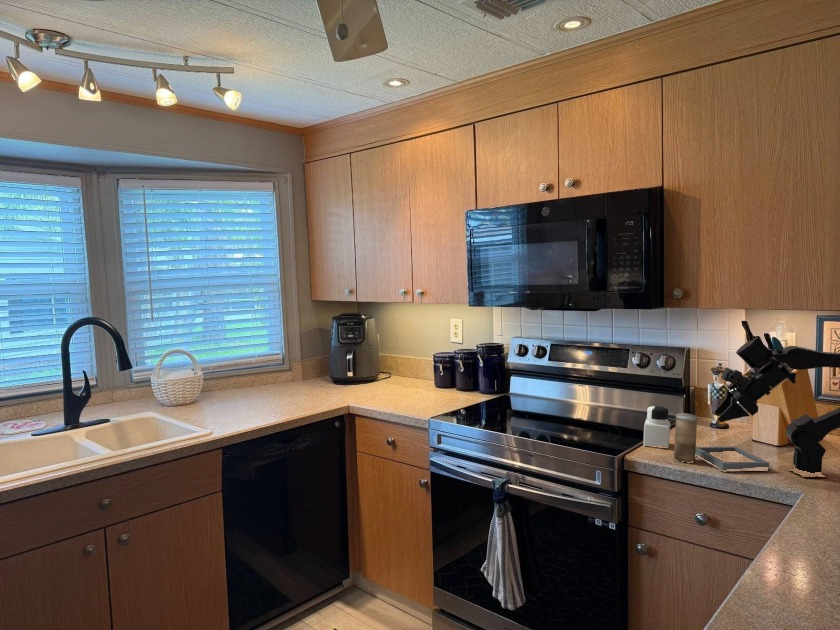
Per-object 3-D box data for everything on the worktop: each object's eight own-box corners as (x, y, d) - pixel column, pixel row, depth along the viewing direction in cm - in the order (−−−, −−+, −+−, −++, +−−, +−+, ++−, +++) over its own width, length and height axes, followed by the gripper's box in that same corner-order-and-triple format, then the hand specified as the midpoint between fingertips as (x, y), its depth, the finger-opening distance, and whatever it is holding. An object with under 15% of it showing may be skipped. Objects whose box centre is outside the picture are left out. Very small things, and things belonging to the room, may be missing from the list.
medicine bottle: (669, 443, 186) (670, 406, 186) (668, 449, 180) (670, 410, 179) (645, 440, 189) (646, 403, 189) (643, 446, 183) (644, 408, 182)
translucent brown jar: (698, 463, 167) (701, 417, 166) (680, 463, 167) (682, 418, 166) (688, 457, 173) (690, 413, 172) (670, 457, 172) (672, 413, 171)
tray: (768, 471, 161) (769, 462, 161) (722, 472, 160) (723, 463, 160) (735, 454, 176) (735, 446, 176) (693, 455, 175) (693, 446, 175)
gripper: (737, 354, 171) (693, 389, 176) (746, 363, 154) (697, 401, 159) (767, 383, 169) (721, 418, 174) (779, 396, 152) (729, 433, 157)
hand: (717, 417), depth 166 cm, fingers open, 9 cm apart
